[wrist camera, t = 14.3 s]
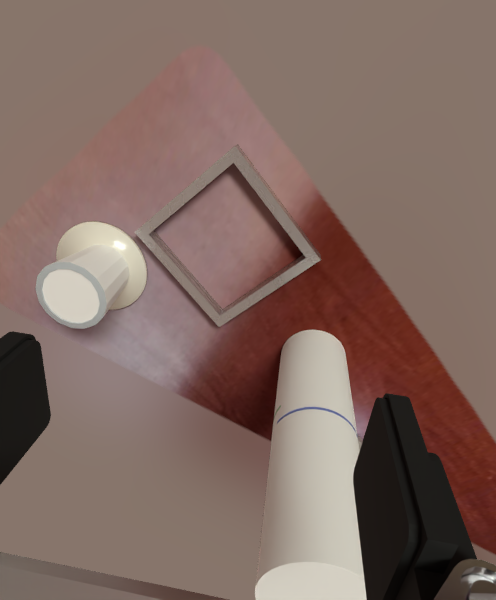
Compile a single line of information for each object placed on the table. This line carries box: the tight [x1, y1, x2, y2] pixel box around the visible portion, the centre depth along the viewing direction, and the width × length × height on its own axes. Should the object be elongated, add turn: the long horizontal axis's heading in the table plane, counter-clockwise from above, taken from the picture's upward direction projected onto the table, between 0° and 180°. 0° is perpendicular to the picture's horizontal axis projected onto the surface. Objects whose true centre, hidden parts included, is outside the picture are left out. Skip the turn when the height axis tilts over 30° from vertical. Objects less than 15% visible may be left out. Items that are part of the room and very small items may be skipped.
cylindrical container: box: [255, 330, 367, 600], centre depth 35 cm, size 7×7×25 cm
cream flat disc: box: [56, 221, 147, 310], centre depth 44 cm, size 10×10×1 cm
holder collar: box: [135, 144, 321, 327], centre depth 40 cm, size 13×13×2 cm
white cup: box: [36, 245, 130, 329], centre depth 41 cm, size 7×7×7 cm
